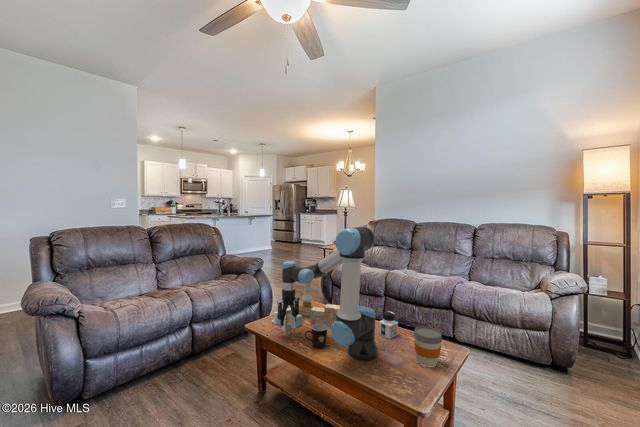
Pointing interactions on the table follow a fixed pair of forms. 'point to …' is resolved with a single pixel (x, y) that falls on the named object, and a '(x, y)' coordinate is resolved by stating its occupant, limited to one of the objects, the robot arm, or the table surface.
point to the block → (297, 323)
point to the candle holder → (306, 301)
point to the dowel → (288, 324)
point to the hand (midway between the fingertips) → (288, 329)
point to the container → (388, 325)
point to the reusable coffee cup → (427, 345)
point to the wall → (276, 316)
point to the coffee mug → (318, 335)
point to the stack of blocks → (324, 315)
